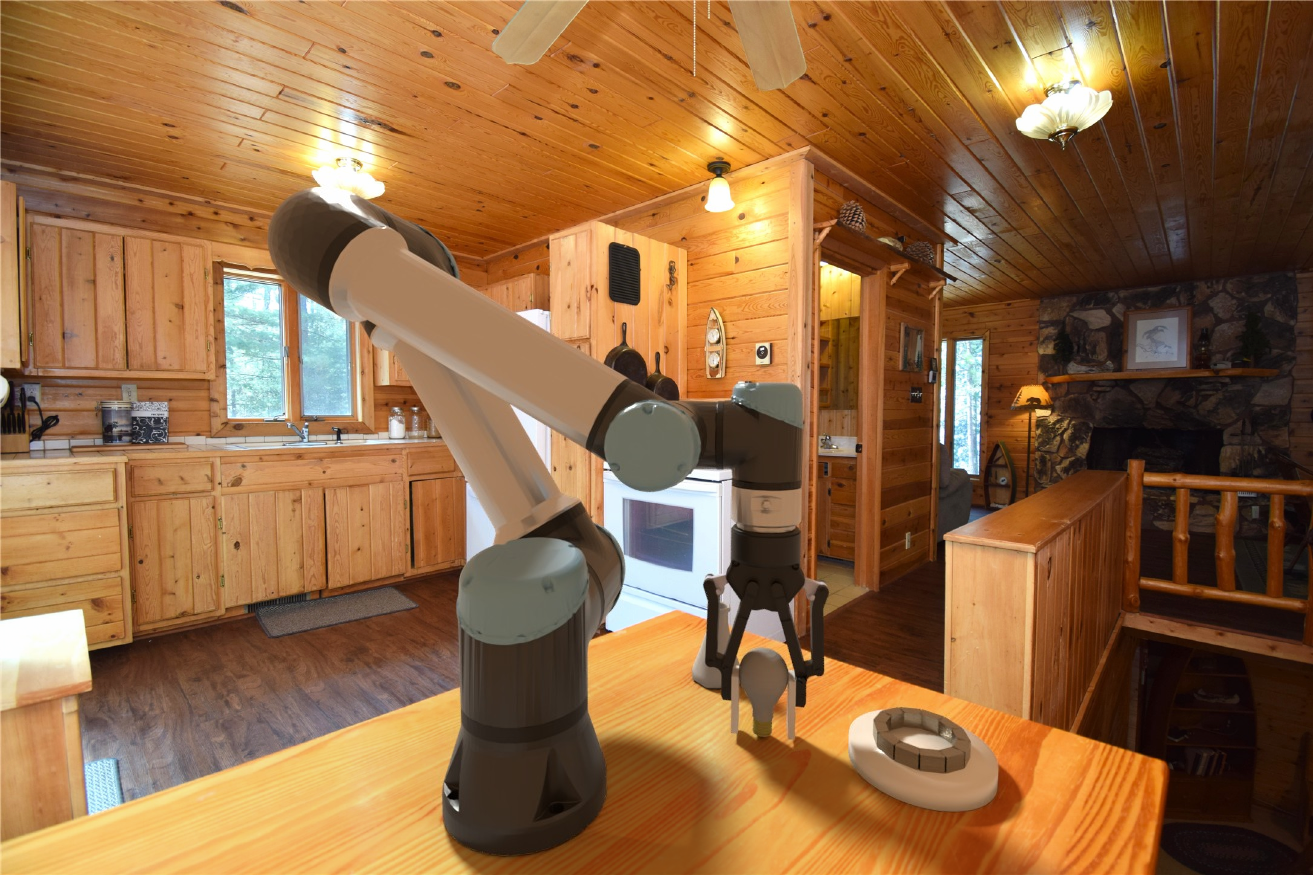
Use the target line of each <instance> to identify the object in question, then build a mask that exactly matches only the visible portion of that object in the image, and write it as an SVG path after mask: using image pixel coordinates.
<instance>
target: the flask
mask: <svg viewBox="0 0 1313 875" xmlns="http://www.w3.org/2000/svg"><path fill="white" fill-rule="evenodd" d="M707 607H708V602H707V603H706V608H707ZM730 612H731V606H730V604H729V603H727V602H724V601H720V612H719V633H718V652H719V653H722V654H724V653H725V649H726V646H727V643H728V640H729V637H730V633H731V631H730V626H729V613H730ZM705 650H706V632H705V634H704V636H703V639H702V641H701V644H700V647H699V650H698V653H697V655H696V657H695V660H694V662H693V665H692V668H691V674H692V675H691V676H692V680H693V681H694V682H697V683H698V684H700V685H701V686H703V687H705V688H707V689H721V672H720V670H718V669H717V668H715V667H708V666H706V664H705ZM734 665H737V666H739V665H740V661H739V658H738V655H737V656H736V660H735V663H734ZM739 685H741V683H740V679H739Z"/></svg>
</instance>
